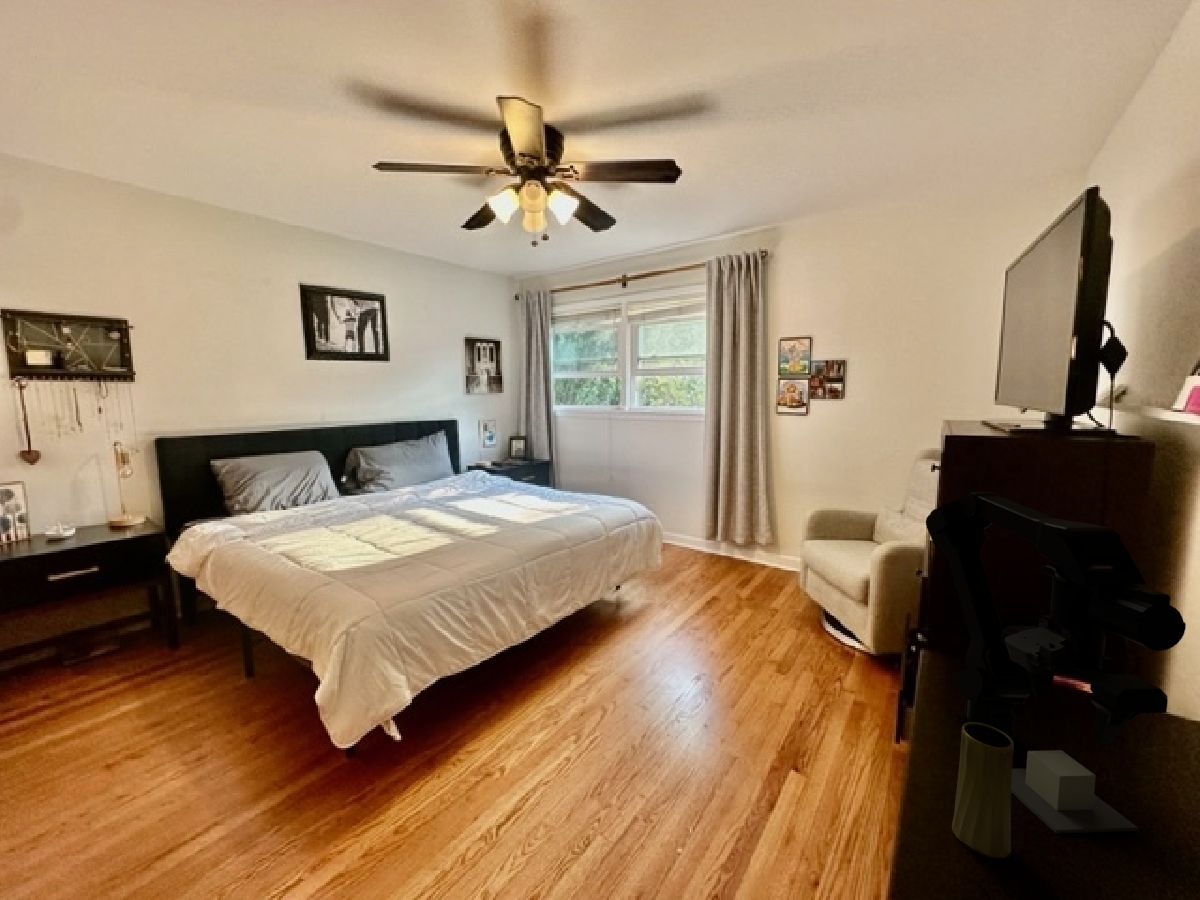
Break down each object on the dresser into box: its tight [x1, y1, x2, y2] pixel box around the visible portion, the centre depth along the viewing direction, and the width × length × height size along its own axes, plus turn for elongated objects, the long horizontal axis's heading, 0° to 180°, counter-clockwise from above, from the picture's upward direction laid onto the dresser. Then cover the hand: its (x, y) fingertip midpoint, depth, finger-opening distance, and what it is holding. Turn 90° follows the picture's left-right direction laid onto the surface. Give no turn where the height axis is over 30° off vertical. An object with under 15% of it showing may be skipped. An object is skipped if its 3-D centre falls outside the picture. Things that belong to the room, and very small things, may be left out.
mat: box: [1011, 767, 1139, 834], centre depth 71 cm, size 11×11×1 cm
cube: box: [1025, 749, 1097, 811], centre depth 71 cm, size 5×5×5 cm
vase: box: [951, 722, 1015, 858], centre depth 64 cm, size 6×6×14 cm
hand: (1069, 721), depth 71 cm, fingers open, 9 cm apart
